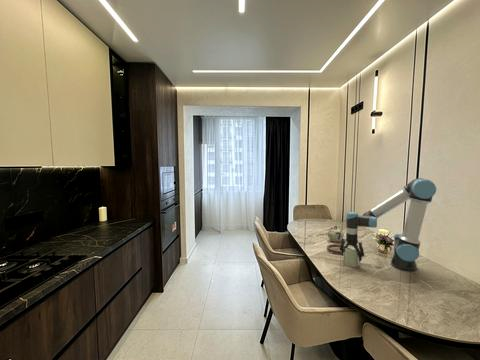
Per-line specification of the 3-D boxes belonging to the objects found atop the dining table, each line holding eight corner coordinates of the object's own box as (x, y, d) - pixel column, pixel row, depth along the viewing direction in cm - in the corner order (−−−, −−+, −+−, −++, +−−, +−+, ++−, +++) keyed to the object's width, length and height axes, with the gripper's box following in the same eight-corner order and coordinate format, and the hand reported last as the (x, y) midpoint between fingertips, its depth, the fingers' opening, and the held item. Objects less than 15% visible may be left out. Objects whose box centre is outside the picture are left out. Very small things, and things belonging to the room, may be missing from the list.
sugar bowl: (348, 244, 209) (348, 228, 208) (332, 244, 208) (332, 228, 208) (338, 237, 228) (338, 222, 227) (324, 237, 228) (324, 223, 227)
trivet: (352, 250, 192) (352, 247, 192) (342, 256, 181) (342, 253, 181) (333, 245, 205) (333, 242, 205) (323, 250, 194) (323, 247, 194)
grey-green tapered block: (346, 260, 173) (346, 245, 172) (359, 263, 167) (360, 247, 166) (343, 264, 166) (343, 248, 165) (357, 268, 160) (357, 251, 159)
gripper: (370, 235, 159) (369, 266, 160) (339, 229, 176) (339, 256, 177) (365, 237, 154) (365, 269, 155) (334, 230, 171) (334, 259, 173)
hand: (351, 262), depth 166 cm, fingers open, 10 cm apart
